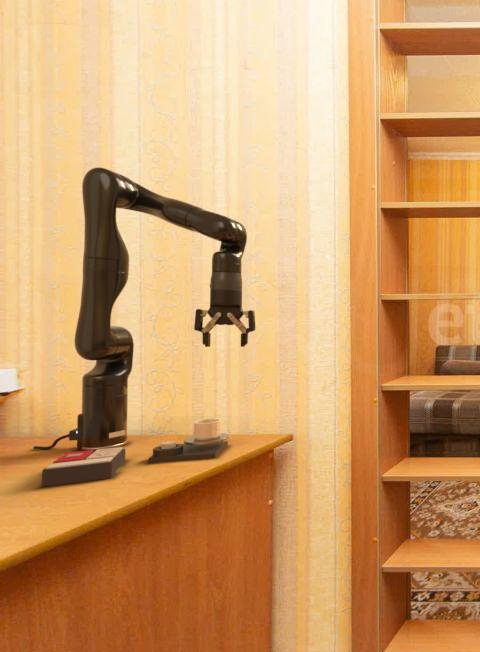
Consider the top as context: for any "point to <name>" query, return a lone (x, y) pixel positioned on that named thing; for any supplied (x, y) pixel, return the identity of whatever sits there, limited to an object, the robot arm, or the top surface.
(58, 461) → the calculator
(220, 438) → the pan
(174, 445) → the button
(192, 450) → the grey knob plate
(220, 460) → the top surface
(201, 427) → the bowl
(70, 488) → the top surface
